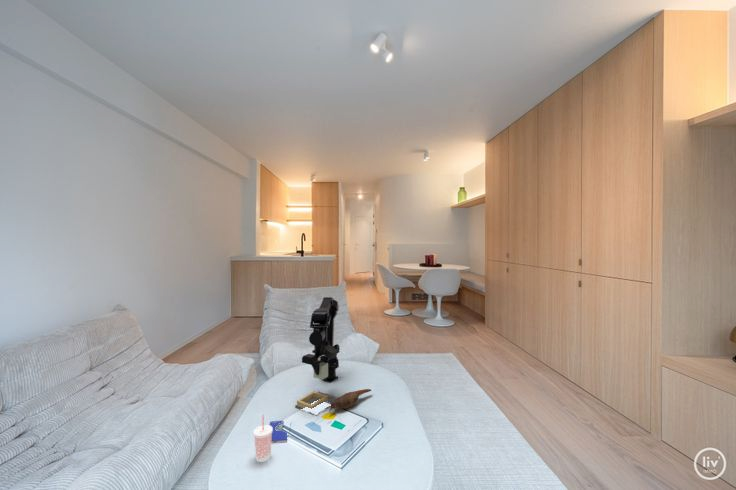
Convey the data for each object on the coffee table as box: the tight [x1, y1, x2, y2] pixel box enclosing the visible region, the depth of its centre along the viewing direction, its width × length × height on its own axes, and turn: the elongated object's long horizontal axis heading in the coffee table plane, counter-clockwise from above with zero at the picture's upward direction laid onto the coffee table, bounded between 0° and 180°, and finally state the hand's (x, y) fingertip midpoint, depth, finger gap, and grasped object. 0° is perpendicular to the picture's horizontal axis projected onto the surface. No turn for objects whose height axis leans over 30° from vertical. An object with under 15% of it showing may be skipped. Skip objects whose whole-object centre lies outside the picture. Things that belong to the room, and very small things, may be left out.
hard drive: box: [268, 420, 289, 444], centre depth 119 cm, size 2×8×12 cm
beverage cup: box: [252, 414, 273, 463], centre depth 105 cm, size 6×6×14 cm
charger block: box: [313, 362, 328, 381], centre depth 143 cm, size 4×5×6 cm
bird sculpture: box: [328, 388, 372, 413], centre depth 138 cm, size 7×25×5 cm, turn 137°
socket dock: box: [294, 391, 338, 410], centre depth 139 cm, size 15×12×3 cm
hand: (320, 373), depth 143 cm, fingers closed on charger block, 4 cm apart
